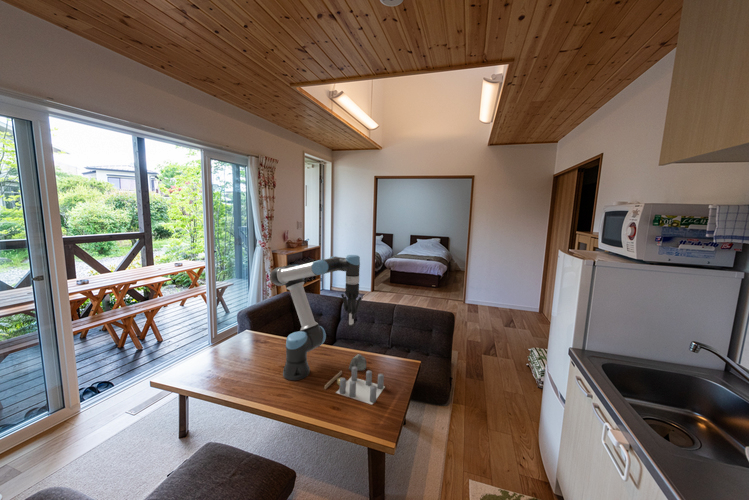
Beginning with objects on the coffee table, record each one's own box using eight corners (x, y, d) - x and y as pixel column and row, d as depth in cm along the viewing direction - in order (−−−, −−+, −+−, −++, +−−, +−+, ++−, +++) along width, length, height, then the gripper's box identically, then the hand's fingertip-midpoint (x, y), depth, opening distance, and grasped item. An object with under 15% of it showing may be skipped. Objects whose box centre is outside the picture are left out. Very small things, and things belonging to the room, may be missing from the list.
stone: (358, 357, 168) (362, 349, 178) (345, 366, 170) (349, 357, 180) (368, 370, 168) (371, 361, 178) (355, 379, 170) (359, 370, 180)
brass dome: (335, 384, 156) (335, 380, 156) (339, 380, 160) (339, 376, 160) (341, 386, 154) (341, 382, 154) (346, 382, 158) (346, 378, 158)
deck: (324, 391, 151) (324, 376, 150) (340, 375, 167) (340, 362, 166) (373, 407, 140) (373, 391, 139) (386, 388, 155) (386, 374, 154)
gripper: (338, 282, 157) (337, 324, 160) (359, 285, 152) (358, 328, 155) (345, 280, 164) (344, 319, 167) (365, 283, 159) (364, 324, 161)
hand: (351, 324), depth 161 cm, fingers closed
